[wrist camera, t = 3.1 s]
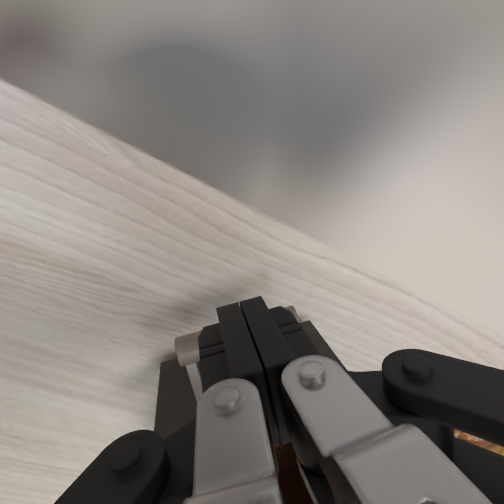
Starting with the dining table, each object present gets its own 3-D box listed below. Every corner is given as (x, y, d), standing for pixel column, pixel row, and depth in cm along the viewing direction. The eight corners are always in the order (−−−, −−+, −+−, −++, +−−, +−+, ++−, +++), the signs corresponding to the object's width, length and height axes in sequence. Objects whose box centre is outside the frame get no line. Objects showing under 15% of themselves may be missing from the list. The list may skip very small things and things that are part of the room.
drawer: (142, 310, 22) (123, 389, 15) (302, 268, 24) (355, 321, 16) (204, 490, 28) (212, 610, 21) (328, 447, 30) (377, 545, 22)
